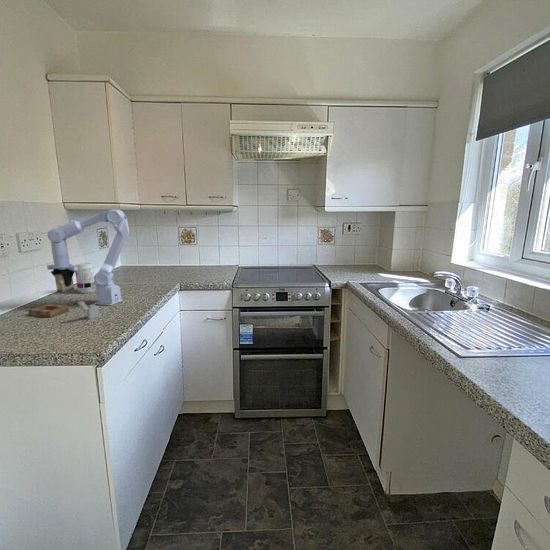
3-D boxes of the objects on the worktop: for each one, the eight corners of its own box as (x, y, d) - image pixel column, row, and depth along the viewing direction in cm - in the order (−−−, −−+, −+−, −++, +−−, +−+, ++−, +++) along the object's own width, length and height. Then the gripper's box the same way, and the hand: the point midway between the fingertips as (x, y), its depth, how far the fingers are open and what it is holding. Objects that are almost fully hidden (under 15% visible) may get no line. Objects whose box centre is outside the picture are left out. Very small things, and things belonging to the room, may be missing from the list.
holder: (69, 311, 133) (68, 305, 133) (50, 317, 125) (49, 312, 125) (48, 309, 136) (47, 304, 136) (29, 315, 128) (28, 309, 128)
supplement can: (75, 294, 161) (71, 265, 158) (81, 290, 168) (77, 263, 165) (93, 293, 163) (89, 265, 160) (97, 289, 171) (94, 262, 167)
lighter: (96, 315, 128) (94, 296, 126) (99, 316, 127) (97, 297, 126) (80, 321, 122) (77, 301, 120) (83, 321, 121) (80, 302, 119)
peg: (74, 289, 143) (71, 272, 141) (62, 292, 137) (60, 275, 135) (68, 289, 143) (66, 272, 142) (57, 292, 137) (54, 274, 136)
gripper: (81, 255, 139) (85, 284, 142) (55, 254, 142) (59, 282, 145) (68, 257, 132) (72, 288, 135) (40, 256, 135) (45, 286, 138)
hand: (65, 285), depth 139 cm, fingers closed on peg, 3 cm apart
